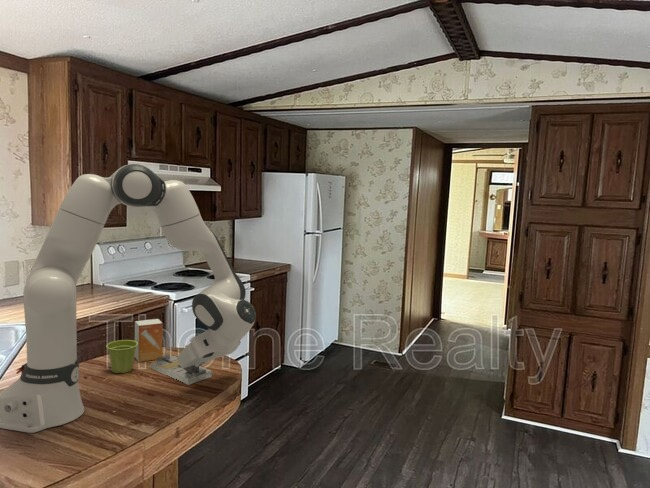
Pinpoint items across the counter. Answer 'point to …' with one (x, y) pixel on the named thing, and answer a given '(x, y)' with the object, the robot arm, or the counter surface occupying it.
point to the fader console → (179, 370)
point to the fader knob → (191, 368)
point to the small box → (148, 339)
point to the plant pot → (122, 355)
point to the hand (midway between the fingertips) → (198, 363)
